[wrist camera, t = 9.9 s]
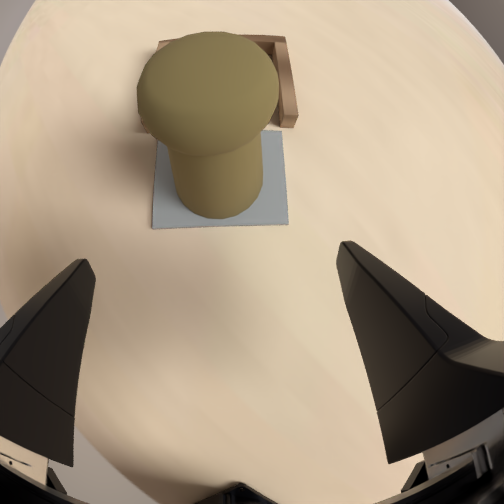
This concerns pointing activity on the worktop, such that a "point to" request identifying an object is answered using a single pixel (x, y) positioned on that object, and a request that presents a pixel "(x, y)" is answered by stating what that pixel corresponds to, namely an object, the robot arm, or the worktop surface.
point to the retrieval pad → (259, 213)
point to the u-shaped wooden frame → (282, 65)
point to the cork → (211, 117)
